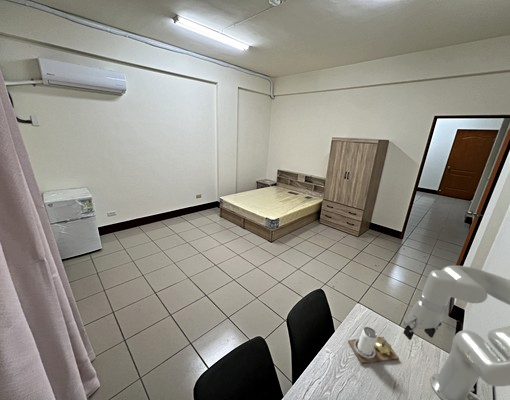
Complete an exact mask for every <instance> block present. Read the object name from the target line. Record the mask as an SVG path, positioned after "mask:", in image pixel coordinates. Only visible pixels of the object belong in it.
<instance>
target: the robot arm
mask: <svg viewBox="0 0 510 400" xmlns="http://www.w3.org/2000/svg"><path fill="white" fill-rule="evenodd" d="M488 295H489V296H491V297H492V298H494V299H496V300H498V301H500V302H502V303H504V304H506V305H508V306H510V279H508V278H505V277H502V276H499V275H497V274H494V273H491V272H488V271H485V270H482V269H479V268H475V267H471V266H463V265H447V266H444V267H443V268H442V269H441V270H440V269H434V270H432V271H430V273H429V274H428V276H427V279H426V281H425V284H424V287H423V289H422V291H421V294H420V296H419V299H418V300H417V301H416V302H415V303H414V305H413V306H412V308H411V309H410V312H409V313H408V315H407V318H405V319H404V320H403V325H404V327H405V328H404V330H403V334H404V336H405V337H406V338H407V339H408V340H409V341H411V340H412V339H413V336H414V334H415V331H416V330H424V333H425V334H427V336H428V337H429V338H431V339H433V337H434V335H435V333H436V331H437V330H438V329H439V327H440V326H442V323H444V321H445V320H446V319H445V318H443V317H444V313H445V310H446V308H447V306H448V303H449V302H450V300H451V298H453V299H456V300H459V301H463V302H465V303H468V304H482V303H484V302H485V301H487V299H488ZM411 325H413V327H412V326H411ZM487 338H488V341H489V342H490V343H491V345H492V346H493V347H494V349H496V350H497V352H498V353H499V354H500V355H501V356H502V357H503V358H504V359H505V361H504V360H503V359H502V358H501V357H500V355H499V354H498V353H497V352H496V351H495V350H494V349H493V348H492V347H491V346H490V345H489V343H488V342H487V341H486V340H485V339H484V338H483V337H481V335H479V334H478V333H476V332H475V331H472V330H468V329H463V330H460V331H458V332H457V333H456V334H455V335H454V337H453V341H452V346H451V350H450V352H449V355H448V356H447V358H446V360H445V362H444V364H443V366H442V367H441V369H440V372H439V373H435V374H433V375H431V377H430V385H431V388H432V389H433V391H434V392H435V394H436V395H437V396H438V397H439V398H440V399H441V400H469V398H468V395H469V394H470V392H475V388H474V386H475V384H476V383H477V382H478V380H479V379H482V380H483V381H484V382H485V383H486V384H488V385H490V386H494V387H508V386H510V325H509V326H504V327H503V326H502V327H498V328H495V329H492V330H490V331H488V333H487Z"/></svg>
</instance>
